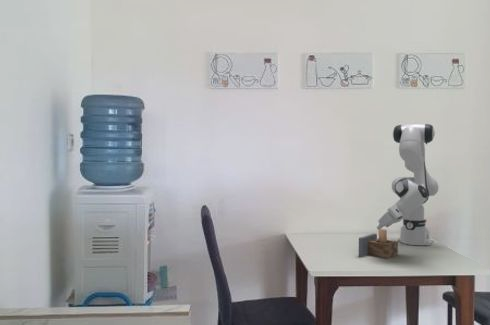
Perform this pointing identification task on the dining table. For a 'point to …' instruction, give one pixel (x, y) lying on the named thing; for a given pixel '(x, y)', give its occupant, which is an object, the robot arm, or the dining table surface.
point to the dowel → (383, 236)
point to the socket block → (383, 248)
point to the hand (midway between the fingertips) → (382, 227)
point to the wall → (365, 244)
